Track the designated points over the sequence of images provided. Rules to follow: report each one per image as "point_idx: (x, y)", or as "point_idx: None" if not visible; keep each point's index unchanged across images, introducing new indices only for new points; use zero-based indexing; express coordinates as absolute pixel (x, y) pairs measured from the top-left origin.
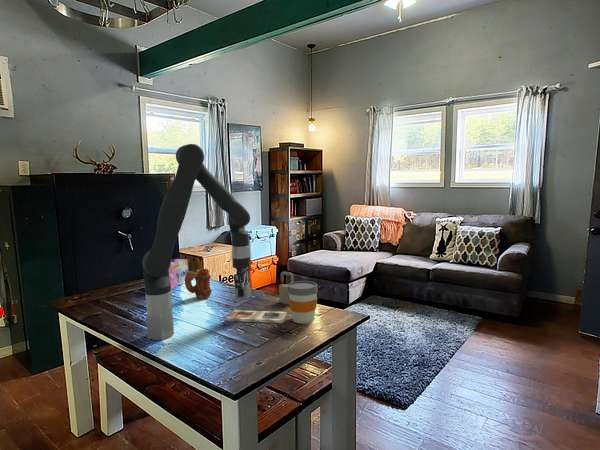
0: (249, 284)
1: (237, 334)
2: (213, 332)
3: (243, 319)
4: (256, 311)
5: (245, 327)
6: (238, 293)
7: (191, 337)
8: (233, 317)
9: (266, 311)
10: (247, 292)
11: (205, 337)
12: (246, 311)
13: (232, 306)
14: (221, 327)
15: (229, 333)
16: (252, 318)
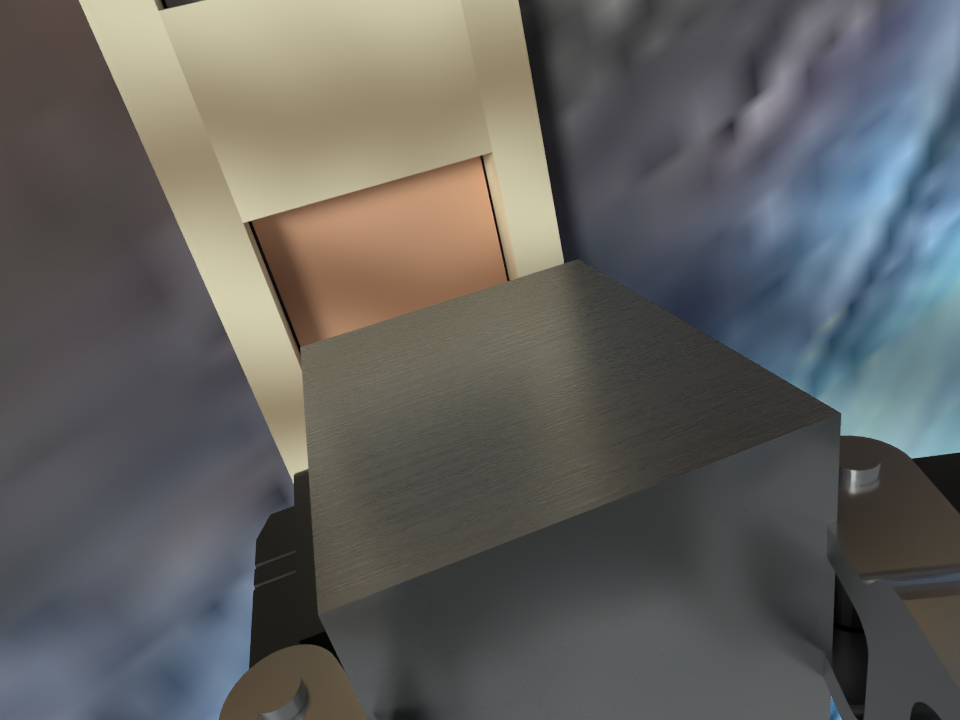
0: (387, 526)
1: (889, 40)
2: (856, 321)
3: (550, 207)
4: (198, 197)
5: (699, 62)
6: None
7: (952, 413)
8: None
9: (95, 7)
10: (583, 329)
11: (954, 311)
12: (279, 345)
13: (116, 666)
14: (741, 333)
15: (869, 150)
16: (500, 85)
